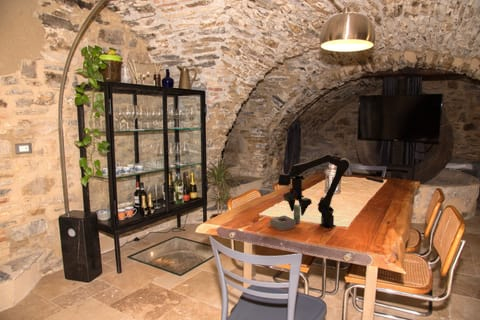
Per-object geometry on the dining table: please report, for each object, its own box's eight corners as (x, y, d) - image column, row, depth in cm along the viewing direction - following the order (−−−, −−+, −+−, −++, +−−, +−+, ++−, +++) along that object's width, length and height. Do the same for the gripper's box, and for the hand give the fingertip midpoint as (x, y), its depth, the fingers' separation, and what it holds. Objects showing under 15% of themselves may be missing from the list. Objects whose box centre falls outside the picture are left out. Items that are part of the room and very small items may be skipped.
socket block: (295, 227, 176) (295, 220, 176) (280, 230, 172) (280, 223, 171) (284, 222, 185) (284, 215, 185) (270, 225, 181) (270, 218, 180)
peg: (301, 222, 183) (301, 205, 182) (296, 223, 182) (296, 206, 180) (297, 220, 187) (297, 204, 185) (292, 222, 185) (292, 205, 183)
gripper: (275, 185, 185) (276, 211, 188) (295, 192, 169) (295, 220, 171) (291, 182, 191) (291, 208, 193) (312, 189, 174) (312, 216, 177)
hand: (297, 213), depth 183 cm, fingers open, 9 cm apart
